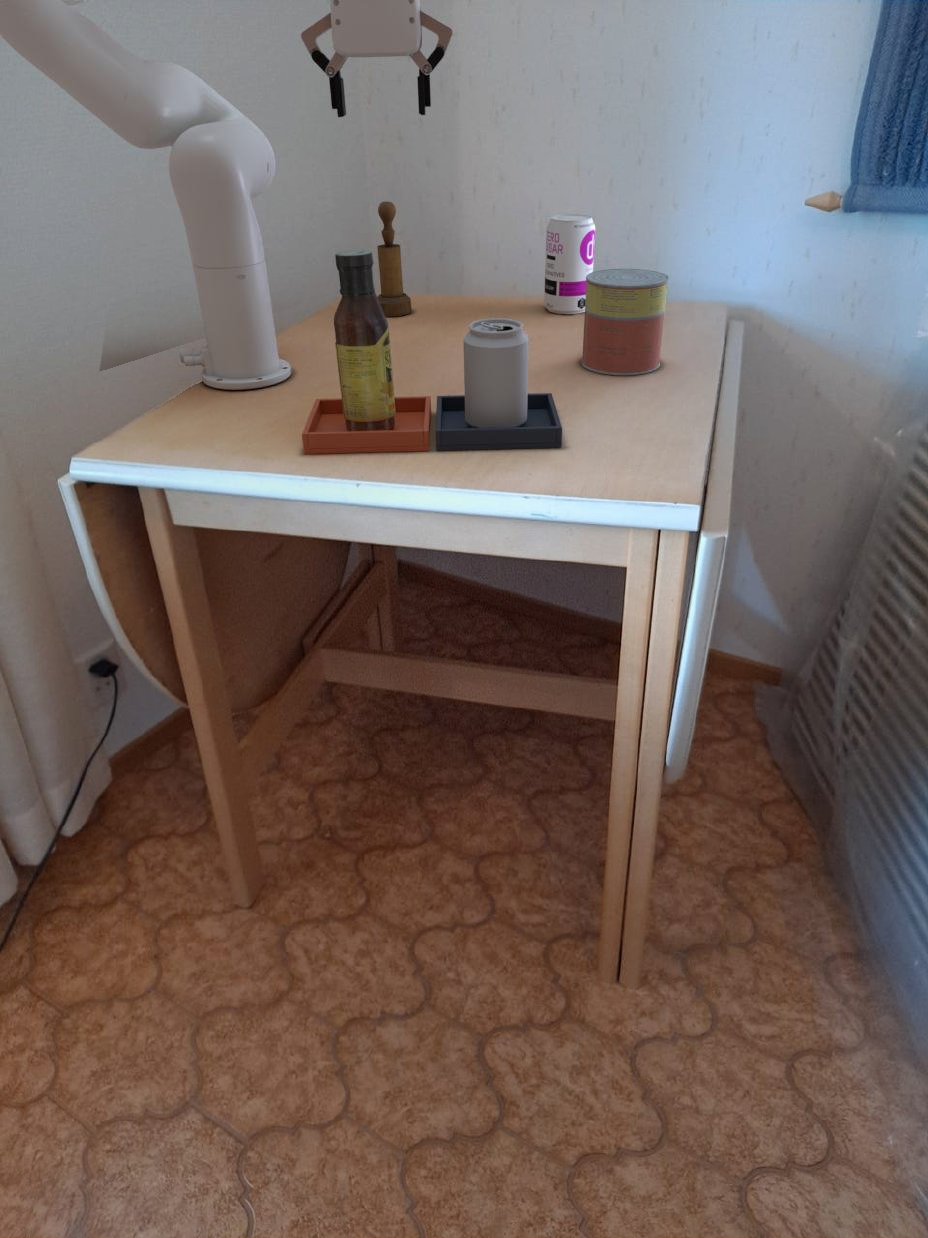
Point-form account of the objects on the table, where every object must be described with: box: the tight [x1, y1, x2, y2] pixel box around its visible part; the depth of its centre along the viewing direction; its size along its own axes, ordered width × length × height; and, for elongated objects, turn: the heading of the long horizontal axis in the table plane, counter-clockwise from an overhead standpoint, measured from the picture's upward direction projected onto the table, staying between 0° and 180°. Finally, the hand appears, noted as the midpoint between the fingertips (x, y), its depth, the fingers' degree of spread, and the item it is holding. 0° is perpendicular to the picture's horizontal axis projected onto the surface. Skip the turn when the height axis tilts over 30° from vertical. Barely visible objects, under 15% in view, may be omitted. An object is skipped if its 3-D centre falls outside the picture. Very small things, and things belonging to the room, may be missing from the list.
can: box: [462, 317, 530, 428], centre depth 101 cm, size 8×8×12 cm
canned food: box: [581, 268, 670, 377], centre depth 122 cm, size 11×11×12 cm
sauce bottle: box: [333, 248, 396, 431], centre depth 99 cm, size 6×6×20 cm
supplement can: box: [543, 213, 596, 315], centre depth 149 cm, size 8×8×15 cm
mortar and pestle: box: [376, 200, 412, 318], centre depth 149 cm, size 7×6×18 cm
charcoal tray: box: [435, 392, 563, 452], centre depth 104 cm, size 14×12×2 cm
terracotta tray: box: [301, 395, 432, 455], centre depth 104 cm, size 14×12×2 cm
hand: (382, 115), depth 103 cm, fingers open, 9 cm apart
